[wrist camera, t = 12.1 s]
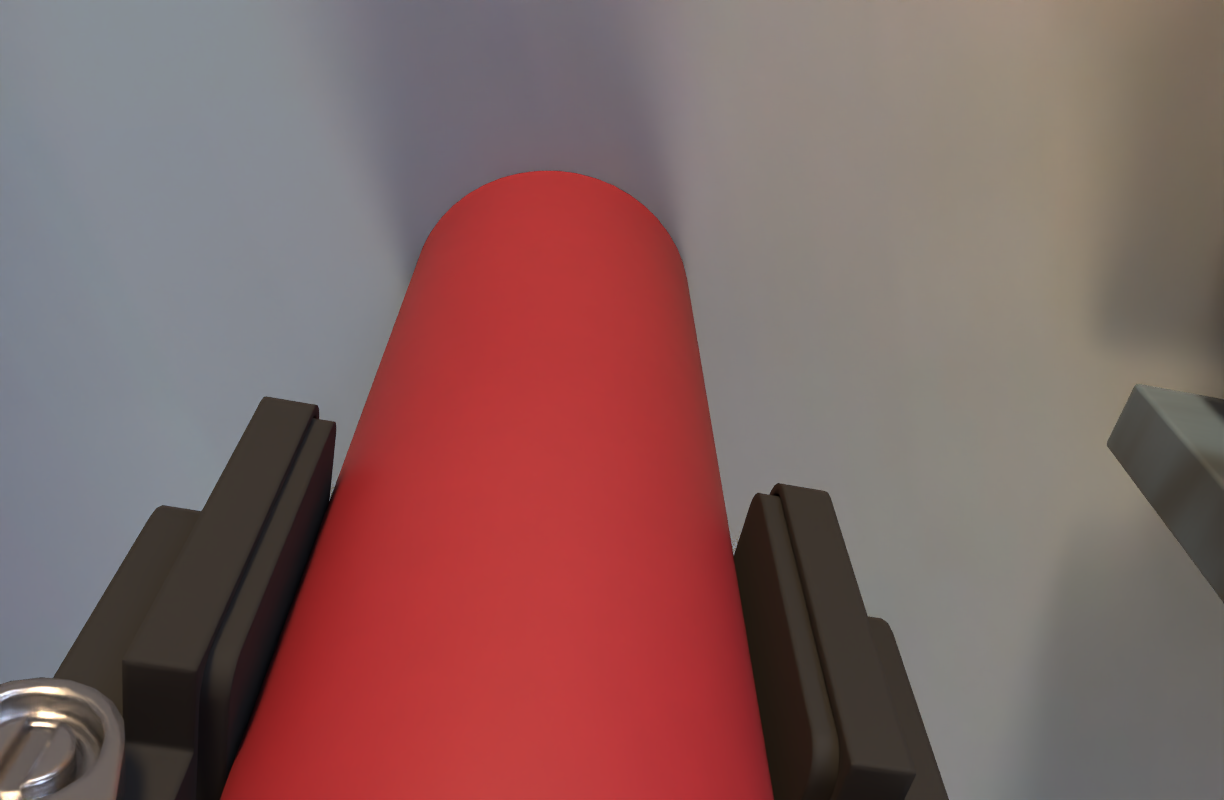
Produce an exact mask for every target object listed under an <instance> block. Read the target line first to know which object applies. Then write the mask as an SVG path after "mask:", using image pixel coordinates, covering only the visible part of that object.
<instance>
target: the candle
mask: <svg viewBox="0 0 1224 800" xmlns="http://www.w3.org/2000/svg"><path fill="white" fill-rule="evenodd" d="M220 800H774V795H773V789H772V783H771V777H770V771H769V765H768V759H767V753H766V747H765V741H764V735H763V729H762V723H761V717H760V711H759V705H758V699H757V693H756V687H755V681H754V675H753V669H752V663H751V657H750V651H749V645H748V640H747V634H746V628H745V622H744V616H743V610H742V604H741V598H740V592H739V586H738V580H737V574H736V568H735V562H734V556H733V550H732V544H731V538H730V532H729V526H728V520H727V514H726V508H725V502H724V496H723V490H722V484H721V479H720V473H719V467H718V461H717V455H716V449H715V443H714V437H713V431H712V425H711V419H710V413H709V407H708V401H707V395H706V389H705V383H704V377H703V371H702V365H701V359H700V353H699V347H698V341H697V335H696V329H695V323H694V318H693V312H692V306H691V300H690V294H689V288H688V282H687V277H686V273H685V269H684V265H683V262H682V259H681V257H680V254H679V252H678V249H677V247H676V245H675V244H674V242H673V240H672V238H671V237H670V235H669V233H668V232H667V230H666V229H665V228H664V227H663V225H662V224H661V223H660V221H659V220H658V219H657V218H656V217H655V216H654V215H653V214H652V213H651V212H650V211H649V210H648V209H647V208H646V207H645V206H644V205H643V204H641V203H640V202H639V201H637V200H636V199H635V198H633V197H632V196H631V195H629V194H627V193H626V192H624V191H622V190H620V189H619V188H617V187H615V186H613V185H611V184H608V183H606V182H603V181H601V180H598V179H596V178H592V177H589V176H585V175H581V174H577V173H570V172H562V171H534V172H526V173H519V174H515V175H511V176H507V177H503V178H500V179H498V180H495V181H493V182H490V183H488V184H485V185H483V186H481V187H480V188H478V189H476V190H474V191H473V192H471V193H469V194H468V195H466V196H465V197H464V198H462V199H461V200H460V201H458V202H457V203H456V204H455V205H453V206H452V207H451V208H450V209H449V211H448V212H447V213H446V214H445V215H444V216H443V217H442V218H441V219H440V220H439V222H438V223H437V224H436V226H435V227H434V228H433V230H432V231H431V233H430V235H429V237H428V238H427V240H426V242H425V244H424V246H423V248H422V251H421V254H420V256H419V259H418V262H417V264H416V267H415V270H414V273H413V275H412V278H411V281H410V284H409V286H408V289H407V292H406V294H405V297H404V300H403V303H402V305H401V308H400V311H399V313H398V316H397V319H396V322H395V324H394V327H393V330H392V333H391V335H390V338H389V341H388V343H387V346H386V349H385V352H384V354H383V357H382V360H381V362H380V365H379V368H378V371H377V373H376V376H375V379H374V382H373V384H372V387H371V390H370V392H369V395H368V398H367V401H366V403H365V406H364V409H363V411H362V414H361V417H360V420H359V422H358V425H357V428H356V431H355V433H354V436H353V439H352V441H351V444H350V447H349V450H348V452H347V455H346V458H345V460H344V463H343V466H342V469H341V471H340V474H339V477H338V480H337V482H336V485H335V488H334V490H333V493H332V496H331V499H330V501H329V504H328V507H327V509H326V512H325V515H324V518H323V520H322V523H321V526H320V528H319V531H318V534H317V537H316V539H315V542H314V545H313V548H312V550H311V553H310V556H309V558H308V561H307V564H306V567H305V569H304V572H303V575H302V577H301V580H300V583H299V586H298V588H297V591H296V594H295V597H294V599H293V602H292V605H291V607H290V610H289V613H288V616H287V618H286V621H285V624H284V626H283V629H282V632H281V635H280V637H279V640H278V643H277V646H276V648H275V651H274V654H273V656H272V659H271V662H270V665H269V667H268V670H267V673H266V675H265V678H264V681H263V684H262V686H261V689H260V692H259V695H258V697H257V700H256V703H255V705H254V708H253V711H252V714H251V716H250V719H249V722H248V724H247V727H246V730H245V733H244V735H243V738H242V741H241V743H240V746H239V749H238V752H237V754H236V757H235V760H234V763H233V765H232V768H231V771H230V773H229V776H228V779H227V782H226V784H225V787H224V790H223V792H222V795H221V798H220Z"/></svg>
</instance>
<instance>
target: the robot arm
mask: <svg viewBox="0 0 1224 800" xmlns="http://www.w3.org/2000/svg"><path fill="white" fill-rule="evenodd" d="M335 438H336V423H335V422H332V421H326V420H320V419H319V408H318V405H313V404H307V403H301V402H295V401H290V400H284V399H278V398H272V397H264V398H263V399H262V400H261V402H260V404H259V405H258V407H257V409H256V411H255V413H254V415H253V417H252V419H251V420H250V422H249V424H248V426H247V428H246V430H245V432H244V433H243V435H242V437H241V439H240V441H239V443H238V445H237V447H236V448H235V450H234V452H233V454H232V456H231V458H230V460H229V461H228V463H227V465H226V467H225V469H224V471H223V473H222V475H221V476H220V478H219V480H218V482H217V484H216V486H215V488H214V489H213V491H212V493H211V495H210V497H209V499H208V501H207V503H206V504H205V506H204V508H203V510H202V511H196V510H190V509H183V508H177V507H170V506H164V505H162V506H160V507H158V508H156V510H155V511H154V512H153V513H152V515H151V516H150V517H149V519H148V521H147V522H146V524H145V526H144V527H143V529H142V531H141V532H140V534H139V536H138V537H137V539H136V541H135V542H134V544H133V546H132V547H131V549H130V551H129V552H128V554H127V556H126V557H125V559H124V561H123V562H122V564H121V566H120V567H119V569H118V571H117V572H116V574H115V576H114V577H113V579H112V581H111V582H110V584H109V586H108V587H107V589H106V591H105V592H104V594H103V596H102V597H101V599H100V601H99V602H98V604H97V606H96V607H95V609H94V611H93V612H92V614H91V616H90V617H89V619H88V621H87V622H86V624H85V626H84V627H83V629H82V631H81V632H80V634H79V636H78V637H77V639H76V641H75V642H74V644H73V646H72V647H71V649H70V651H69V652H68V654H67V656H66V657H65V659H64V661H63V662H62V664H61V666H60V667H59V669H58V671H57V672H56V674H55V676H54V677H53V678H43V677H40V678H32V679H23V680H15V681H9V682H6V683H3V684H0V800H220V798H221V795H222V792H223V790H224V787H225V784H226V782H227V779H228V776H229V773H230V771H231V768H232V765H233V763H234V760H235V757H236V754H237V752H238V749H239V746H240V743H241V741H242V738H243V735H244V733H245V730H246V727H247V724H248V722H249V719H250V716H251V714H252V711H253V708H254V705H255V703H256V700H257V697H258V695H259V692H260V689H261V686H262V684H263V681H264V678H265V675H266V673H267V670H268V667H269V665H270V662H271V659H272V656H273V654H274V651H275V648H276V646H277V643H278V640H279V637H280V635H281V632H282V629H283V626H284V624H285V621H286V618H287V616H288V613H289V610H290V607H291V605H292V602H293V599H294V597H295V594H296V591H297V588H298V586H299V583H300V580H301V577H302V575H303V572H304V569H305V567H306V564H307V561H308V558H309V556H310V553H311V550H312V548H313V545H314V542H315V539H316V537H317V534H318V531H319V528H320V526H321V523H322V520H323V518H324V515H325V512H326V509H327V507H328V504H329V499H330V489H331V479H332V469H333V459H334V448H335ZM734 562H735V568H736V574H737V580H738V586H739V592H740V598H741V604H742V610H743V616H744V622H745V628H746V634H747V640H748V645H749V651H750V657H751V663H752V669H753V675H754V681H755V687H756V693H757V699H758V705H759V711H760V717H761V723H762V729H763V735H764V741H765V747H766V753H767V759H768V765H769V771H770V777H771V783H772V789H773V795H774V800H949V799H948V796H947V793H946V790H945V787H944V784H943V781H942V778H941V775H940V772H939V769H938V766H937V763H936V760H935V757H934V754H933V751H932V748H931V745H930V742H929V739H928V736H927V733H926V730H925V727H924V724H923V721H922V718H921V715H920V712H919V709H918V706H917V703H916V700H915V697H914V694H913V691H912V688H911V685H910V682H909V679H908V676H907V673H906V670H905V667H904V665H903V662H902V659H901V656H900V653H899V650H898V647H897V644H896V641H895V638H894V635H893V632H892V630H891V628H890V626H889V624H888V623H887V622H886V621H884V620H883V619H881V618H874V617H868V616H867V613H866V610H865V607H864V603H863V600H862V597H861V594H860V591H859V587H858V584H857V581H856V578H855V575H854V571H853V568H852V565H851V562H850V558H849V555H848V552H847V549H846V546H845V542H844V539H843V536H842V533H841V530H840V526H839V523H838V520H837V517H836V514H835V510H834V507H833V504H832V501H831V498H830V496H829V494H828V492H825V491H821V490H815V489H809V488H804V487H798V486H792V485H786V484H780V483H778V484H776V485H775V486H774V487H773V489H772V490H771V492H770V495H767V494H761V493H757V494H755V496H754V497H753V499H752V502H751V504H750V507H749V510H748V513H747V517H746V520H745V523H744V526H743V529H742V532H741V535H740V538H739V542H738V545H737V548H736V551H735V554H734Z"/></svg>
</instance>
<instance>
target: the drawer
mask: <svg viewBox="0 0 1224 800" xmlns="http://www.w3.org/2000/svg"><path fill="white" fill-rule="evenodd" d="M1107 446H1108V448H1109V449H1110V450H1111V452H1112V453H1113V454H1114V456H1115V457H1116V459H1117V460H1118V461H1119V463H1120V464H1121V465H1122V467H1123V468H1124V469H1125V471H1126V472H1127V473H1128V475H1129V476H1130V477H1131V479H1132V480H1133V481H1134V483H1135V484H1136V485H1137V487H1138V488H1139V489H1140V491H1141V492H1142V494H1143V495H1144V496H1145V498H1146V499H1147V500H1148V502H1149V503H1150V504H1151V506H1152V507H1153V508H1154V510H1155V511H1156V512H1157V514H1158V515H1159V516H1160V518H1161V519H1162V520H1163V522H1164V523H1165V524H1166V526H1167V527H1168V529H1169V530H1170V531H1171V533H1172V534H1173V535H1174V537H1175V538H1176V539H1177V541H1178V542H1179V543H1180V545H1181V546H1182V547H1183V549H1184V550H1185V551H1186V553H1187V554H1188V555H1189V557H1190V558H1191V560H1192V561H1193V562H1194V564H1195V565H1196V566H1197V568H1198V569H1199V570H1200V572H1201V573H1202V574H1203V576H1204V577H1205V578H1206V580H1207V581H1208V582H1209V584H1210V585H1211V586H1212V588H1213V589H1214V590H1215V592H1216V593H1217V595H1218V596H1219V597H1220V599H1221V600H1222V601H1223V603H1224V399H1218V398H1213V397H1207V396H1202V395H1196V394H1191V393H1185V392H1180V391H1175V390H1169V389H1164V388H1158V387H1153V386H1147V385H1142V384H1136V385H1135V386H1134V388H1133V390H1132V392H1131V394H1130V396H1129V398H1128V400H1127V402H1126V404H1125V406H1124V408H1123V411H1122V413H1121V415H1120V417H1119V419H1118V421H1117V423H1116V425H1115V427H1114V429H1113V431H1112V433H1111V435H1110V437H1109V439H1108V441H1107Z"/></svg>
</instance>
